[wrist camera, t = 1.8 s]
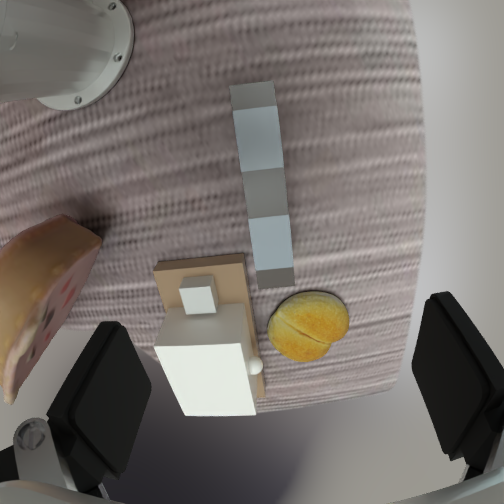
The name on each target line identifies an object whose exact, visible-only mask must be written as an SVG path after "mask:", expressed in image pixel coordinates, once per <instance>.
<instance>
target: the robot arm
mask: <svg viewBox="0 0 504 504" xmlns="http://www.w3.org/2000/svg"><path fill="white" fill-rule="evenodd" d="M115 7H116V8H115ZM114 8H115V9H114ZM133 42H134V26H133V22H132V17H131V15H130V13H129V11H128V9H127V8H126V6H125V5H124V4H123V3H122V2H121V1H120V0H0V103H5V102H12V101H18V100H26V99H34V98H36V99H37V100H39V101H40V102H41V103H42V104H43V105H45V106H47V107H49V108H51V109H55V110H59V111H69V110H76V109H80V108H83V107H87V106H88V105H90V104H92V103H94V102H96V101H98V100H99V99H100V98H102V97H103V96H104V95H106V94H107V93H108V91H109V90H110V89H111V88H112V87H113V86H114V85H115V84H116V82H117V81H118V80H119V78H120V77H121V76H122V74H123V72H124V70H125V68H126V66H127V64H128V62H129V59H130V56H131V53H132V48H133ZM121 56H122V59H121V61H120V57H121ZM81 99H82V102H81ZM412 371H413V374H414V377H415V379H416V381H417V384H418V386H419V389H420V391H421V394H422V396H423V399H424V402H425V404H426V407H427V409H428V412H429V415H430V417H431V420H432V423H433V425H434V428H435V431H436V434H437V437H438V440H439V442H440V445H441V448H442V451H443V452H444V454H448V455H449V458H450V461H453V460H456V459H458V458H461V457H464V459H465V462H466V467H465V469H464V472H463V474H462V476H461V478H460V481H459V483H458V484H455V485H452V486H449V487H446V488H443V489H440V490H437V491H433V492H430V493H427V494H423V495H420V496H416V497H412V498H409V499H405V500H401V501H397V502H393V503H388V504H504V369H503V367H502V365H501V364H500V362H499V360H498V359H497V357H496V356H495V355H494V353H493V351H492V350H491V348H490V347H489V345H488V344H487V342H486V341H485V339H484V338H483V336H482V335H481V333H479V331H478V329H477V328H476V326H475V325H474V324H473V322H472V321H471V319H470V318H469V317H468V315H467V314H466V313H465V311H464V310H463V308H462V307H461V306H460V304H459V303H458V302H457V300H456V299H455V298H454V297H453V295H452V294H451V293H450V292H448V291H446V292H440V293H434V294H432V295H431V296H430V299H427V300H426V302H425V306H424V311H423V316H422V321H421V326H420V330H419V334H418V339H417V344H416V347H415V352H414V355H413V359H412ZM150 393H151V382H150V380H149V378H148V376H147V374H146V372H145V370H144V367H143V365H142V363H141V361H140V359H139V357H138V355H137V352H136V350H135V348H134V346H133V344H132V341H131V339H130V337H129V334H128V332H127V330H126V328H125V327H124V326H122V325H121V324H120V323H119V322H117V321H103V322H101V323H100V324H99V325H98V327H97V329H96V330H95V332H94V334H93V335H92V337H91V338H90V340H89V341H88V343H87V345H86V346H85V348H84V349H83V351H82V353H81V354H80V356H79V358H78V359H77V361H76V363H75V364H74V366H73V368H72V369H71V371H70V373H69V374H68V376H67V378H66V380H65V381H64V383H63V385H62V387H61V388H60V390H59V392H58V394H57V395H56V397H55V399H54V401H53V403H52V404H51V406H50V408H49V410H48V412H47V414H46V415H47V416H48V417H49V420H48V421H47V422H46V421H45V420H44V419H41V418H30V419H27V420H26V421H24V422H23V423H21V424H20V426H18V428H17V430H16V431H15V434H14V437H13V445H12V446H10V447H8V448H6V449H4V450H2V451H0V504H123V503H119V502H115V501H110V499H109V497H108V495H107V493H106V491H105V489H104V486H103V485H102V479H103V476H104V477H107V478H112V479H116V480H119V477H120V473H123V472H124V471H125V469H126V466H127V463H128V460H129V457H130V453H131V451H132V447H133V444H134V441H135V438H136V435H137V432H138V429H139V426H140V423H141V420H142V417H143V414H144V411H145V408H146V405H147V402H148V399H149V396H150Z"/></svg>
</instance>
